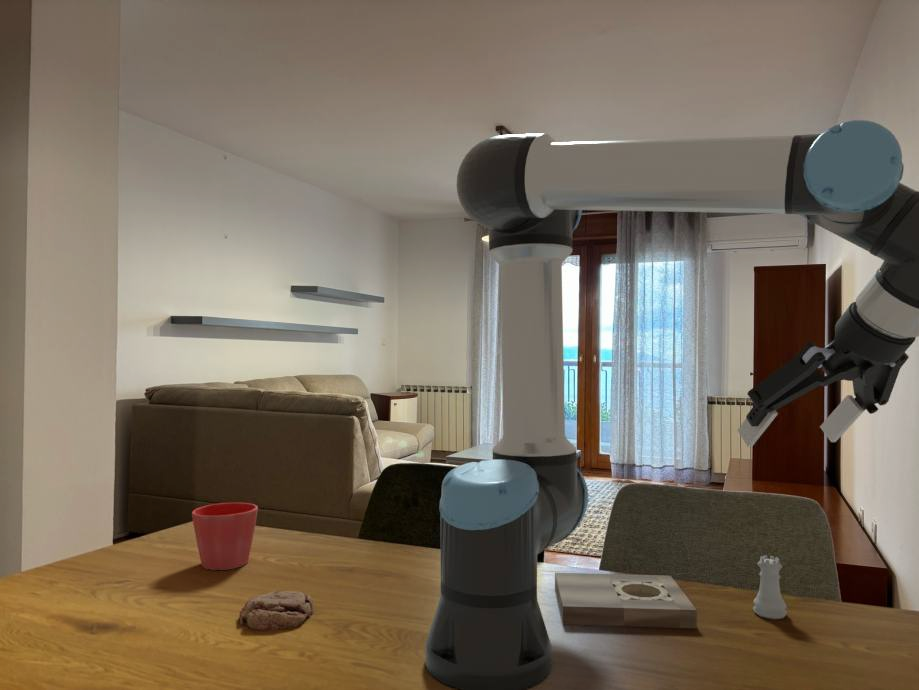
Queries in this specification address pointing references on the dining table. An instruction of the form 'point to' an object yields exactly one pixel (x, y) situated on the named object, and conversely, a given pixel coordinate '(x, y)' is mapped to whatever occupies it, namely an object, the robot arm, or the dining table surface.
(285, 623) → the cookie
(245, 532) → the flower pot
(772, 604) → the rook chess piece
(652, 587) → the socket board
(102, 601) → the dining table surface
